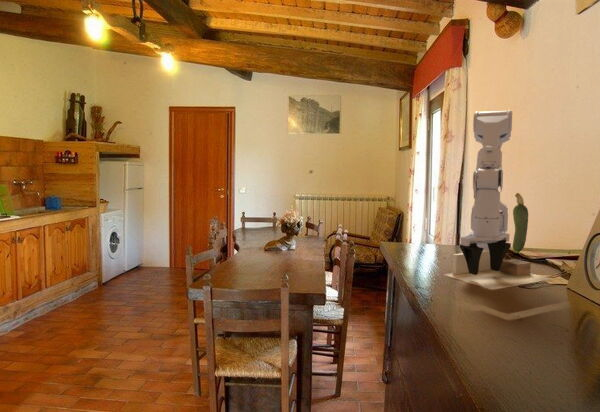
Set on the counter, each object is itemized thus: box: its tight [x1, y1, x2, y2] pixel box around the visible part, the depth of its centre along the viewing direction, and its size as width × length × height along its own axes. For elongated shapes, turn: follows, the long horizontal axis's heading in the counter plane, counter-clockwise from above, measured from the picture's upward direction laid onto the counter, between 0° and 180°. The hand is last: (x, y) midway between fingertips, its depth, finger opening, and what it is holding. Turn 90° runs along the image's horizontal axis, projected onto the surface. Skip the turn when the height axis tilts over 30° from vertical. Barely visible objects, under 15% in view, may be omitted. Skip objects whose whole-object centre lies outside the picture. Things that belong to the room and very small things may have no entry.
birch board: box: [443, 269, 553, 291], centre depth 105 cm, size 15×21×1 cm
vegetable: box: [512, 192, 529, 254], centre depth 136 cm, size 4×4×20 cm
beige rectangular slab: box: [452, 250, 491, 274], centre depth 111 cm, size 1×16×5 cm, turn 115°
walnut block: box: [500, 258, 532, 276], centre depth 109 cm, size 5×5×3 cm
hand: (484, 272), depth 104 cm, fingers open, 7 cm apart
